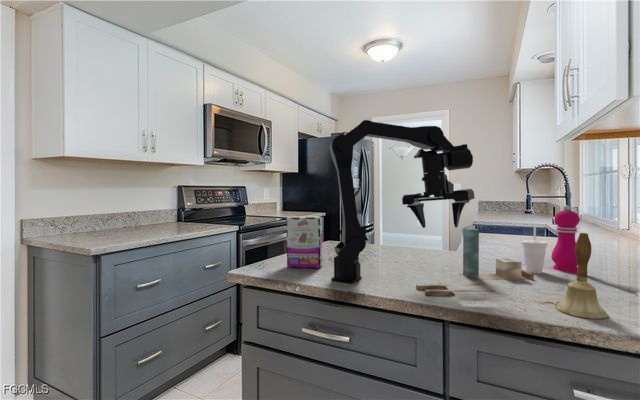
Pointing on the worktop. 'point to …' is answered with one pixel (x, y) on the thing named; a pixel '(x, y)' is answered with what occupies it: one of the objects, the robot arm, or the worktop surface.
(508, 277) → the maple block
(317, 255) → the candy bar box
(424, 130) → the robot arm
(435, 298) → the worktop surface
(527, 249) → the smoothie
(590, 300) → the hand bell
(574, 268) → the pepper mill
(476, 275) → the wooden base with blocks
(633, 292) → the worktop surface
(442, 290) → the broken lane
